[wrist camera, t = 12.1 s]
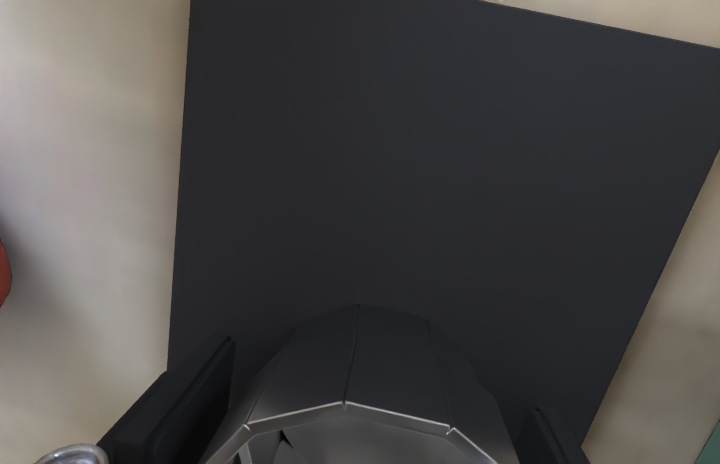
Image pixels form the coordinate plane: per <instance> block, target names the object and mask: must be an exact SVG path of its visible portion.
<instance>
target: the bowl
mask: <svg viewBox="0 0 720 464" xmlns="http://www.w3.org/2000/svg"><path fill="white" fill-rule="evenodd" d="M198 464H520V463H519V460H518V458H517V455H516V452H515V450H514V447H513V444H512V442H511V439H510V436H509V434H508V431H507V428H506V426H505V423H504V421H503V418H502V415H501V413H500V410H499V407H498V405H497V402H496V399H495V398H494V397H493V395H492V394H491V393H490V392H489V391H487V390H486V389H485V388H484V387H483V386H482V385H480V384H479V382H478V379H477V376H476V373H475V370H474V369H473V366H472V364H471V363H470V362H469V361H468V360H467V359H466V358H465V357H464V356H463V355H462V354H461V353H460V351H459V350H458V349H457V348H456V347H455V346H454V345H453V344H452V343H451V342H450V341H449V340H448V339H447V338H446V337H445V335H444V334H443V333H442V332H441V331H440V330H439V329H438V328H437V327H436V326H435V325H434V324H433V323H432V322H431V321H430V320H429V321H427V320H426V318H425V317H420V316H416V315H411V314H407V313H402V312H398V311H393V310H389V309H385V308H380V307H376V306H371V305H367V304H362V303H360V304H359V308H358V306H357V304H353V305H350V306H348V307H345V308H342V309H340V310H337V311H334V312H332V313H329V314H326V315H324V316H321V317H319V318H316V319H313V320H311V321H308V322H305V323H303V324H300V325H298V326H297V327H296V329H295V328H294V329H293V330H292V332H291V334H290V335H289V337H288V339H287V341H286V342H285V344H284V346H283V347H282V349H281V350H280V351H279V352H278V353H277V354H276V355H275V356H274V357H273V358H272V359H271V360H270V361H269V362H268V363H267V364H266V365H265V366H264V368H263V369H262V370H261V371H260V372H259V373H258V374H257V375H256V376H255V377H254V378H253V379H252V380H251V381H250V382H249V383H248V384H247V385H246V386H245V387H244V388H243V389H242V390H241V391H240V392H239V393H238V395H237V397H236V398H235V400H234V402H233V404H232V405H231V407H230V409H229V410H228V412H227V414H226V416H225V417H224V419H223V421H222V422H221V424H220V426H219V428H218V429H217V431H216V433H215V435H214V436H213V438H212V440H211V441H210V443H209V445H208V447H207V448H206V450H205V452H204V453H203V455H202V457H201V459H200V460H199V462H198Z"/></svg>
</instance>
